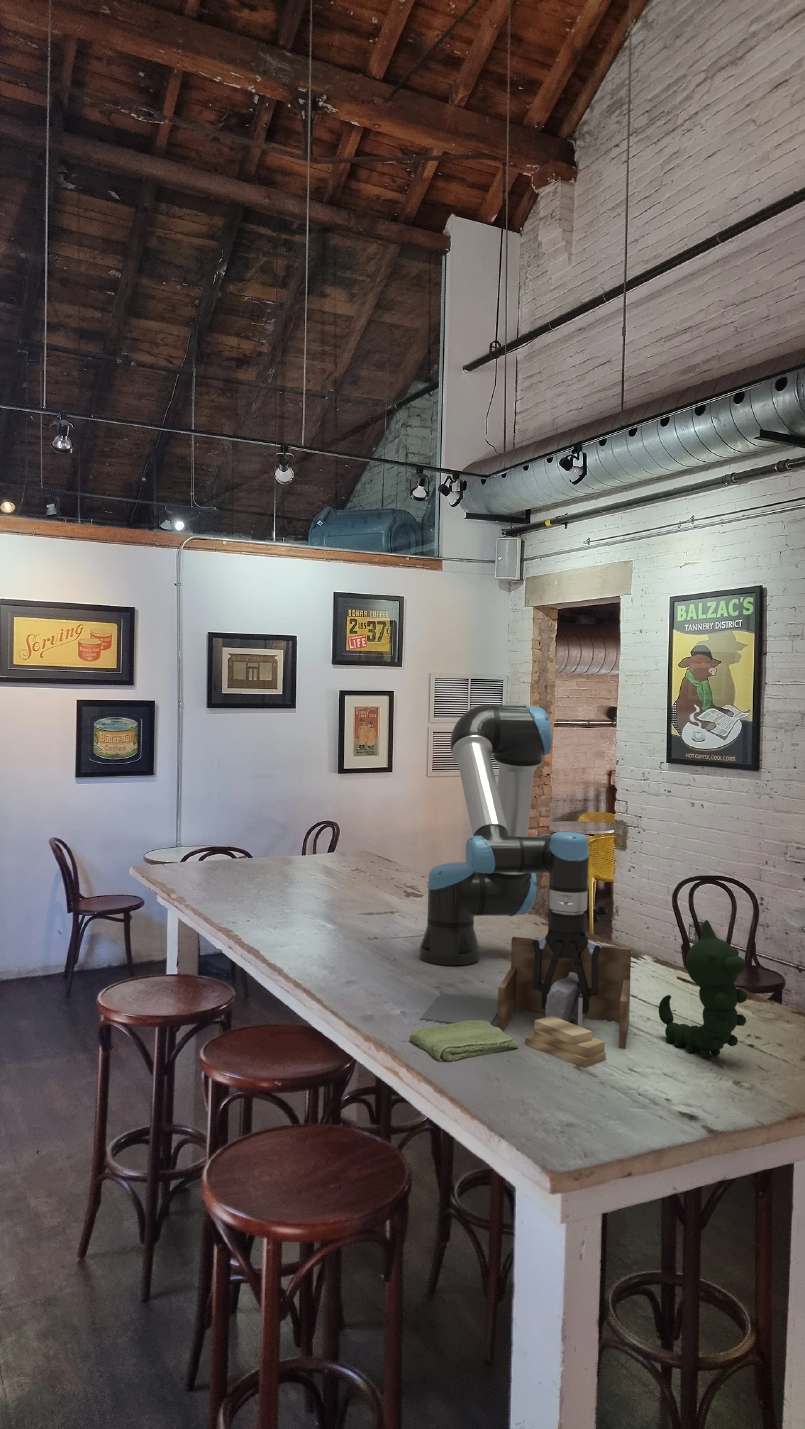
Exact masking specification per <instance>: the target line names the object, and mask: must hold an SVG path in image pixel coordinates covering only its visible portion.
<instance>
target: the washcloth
mask: <svg viewBox="0 0 805 1429" xmlns="http://www.w3.org/2000/svg"><path fill="white" fill-rule="evenodd" d="M409 1041H410V1043H412V1042H413V1043H412V1044H414V1043H415V1044H417V1045H419V1046H418V1047H419V1048H420V1049H421V1048H422V1050H424V1049H425V1051H426V1052H427V1053H429V1054H431V1055H430V1056H432V1057H434V1058H435V1059H436V1060H437V1061H439V1062H441V1061H443V1062H445V1060H446V1061H447V1062H456V1061H458V1060H463V1059H467V1058H468V1059H470V1058H471V1057H472V1058H473V1057H477V1056H483V1055H487V1054H488V1055H490V1054H493V1053H500V1052H503V1051H510V1050H513V1049H518V1048H519V1043H518V1042H517V1041H516V1040H513V1038H512V1037H511V1036H510V1035H508V1034H506V1033H505V1032H503V1031H502V1030H501V1029H500V1028H497V1026H493V1024H492V1025H491V1024H490V1023H489V1022H488V1021H484V1020H477V1021H469V1020H468V1021H463V1022H458V1023H455V1024H454V1023H452V1024H445V1025H436V1026H435V1025H432V1026H429V1027H421V1028H419V1029H416V1030H415V1031H412V1032H411V1033H410V1034H409ZM415 1044H414V1045H415ZM417 1045H416V1046H417ZM455 1060H456V1061H455Z"/></svg>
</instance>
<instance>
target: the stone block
mask: <svg viewBox="0 0 805 1429" xmlns="http://www.w3.org/2000/svg"><path fill="white" fill-rule="evenodd" d="M580 994H582V992H581V988H580V984H579V980H578V976H577V974H576V973H572V972H570V973H569V976H568V977H567V978H563V979H560V980H558V981H556V982H554V984H553V985H552V986H551V989H550V992H549V993H548V996H547V1002H546V1006H545V1007H546V1012H545V1013H544V1014H545V1017H544V1018H546V1017H550V1016H554V1017H557V1018H559V1019H562V1020H564V1021H567V1022H569V1023H571V1021H572V1019H573V1016H574V1015H575V1014H576V1012H577V1011H578V1002H579V995H580Z"/></svg>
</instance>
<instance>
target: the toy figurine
mask: <svg viewBox="0 0 805 1429" xmlns="http://www.w3.org/2000/svg"><path fill="white" fill-rule="evenodd" d="M739 954H740V953H739V950H738V949H737V948H734V947H733V946H732V945H730V944H729V943H728V942H726V941H724V940H722V939H721V938H718V937H717V935H716V933H715V932H714V929H713V928H712V925H711V924H710V922H709V920H707V919H705V920H704V923H703V926H702V931H701V935H700V938H699V940H697V941H696V942H694V944H692V946H690V948H689V950H688V952H687V954H686V958H685V965H686V970H687V971H686V972H687V973H688V976H689V977H690V979H691V980H692V982H693V983H694V984H695V985H697V986H698V987H699V991H698V992H699V993H698V995H699V1000H700V1003H701V1005H702V1006H703V1009H702V1019H703V1020H702V1021H703V1023H702V1025H700V1026H698V1025H688V1024H687V1023H681V1024H679V1023H677V1022H674V1020H675V1019H674V1014H673V1011H672V1009H671V999H672V996H671V994H667V995H664V997H662V999H661V1000H660V1002H659V1006H658V1015H659V1016H658V1017H659V1019H660V1021H661V1022H662V1023H663V1024H664V1025H666V1027H665V1030H664V1032H665V1036H666V1037H665V1041H666V1043H673V1044H674V1046H675V1047H676V1048H681V1047H682V1046H686V1047H685V1050H686V1052H688V1053H693V1052H694V1050H700V1051H699V1054H700V1056H701V1057H702V1058H703V1059H708V1058H709V1057H710V1056H711V1055H712V1056H716V1057H717V1056H719V1055H720V1053H721V1050H722V1049H723V1048H724V1045H728V1046H730V1047H735V1046H737V1045H738V1042H739V1040H738V1037H737V1036H736V1035H735V1034H732V1032H733V1031H734V1030H735V1029H736V1028H737V1026H738V1027H739V1026H740V1027H744V1026H745V1025H746V1023H747V1018H746V1017H745V1016H744V1015H743V1014H740V1013H739V1014H738V1011H737V1009H736V1007H737V1004H742V1003H745V1002H746V1001H747V1000H748V994H747V991H746V990H744V989H743V988H741V987H740V988H737V986H736V985H735V982H736V981H737V979H738V978H739V976H740V974H743V972H744V971H745V970H746V966H747V964H746V961H745V958H743V957H741V956H739Z"/></svg>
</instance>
